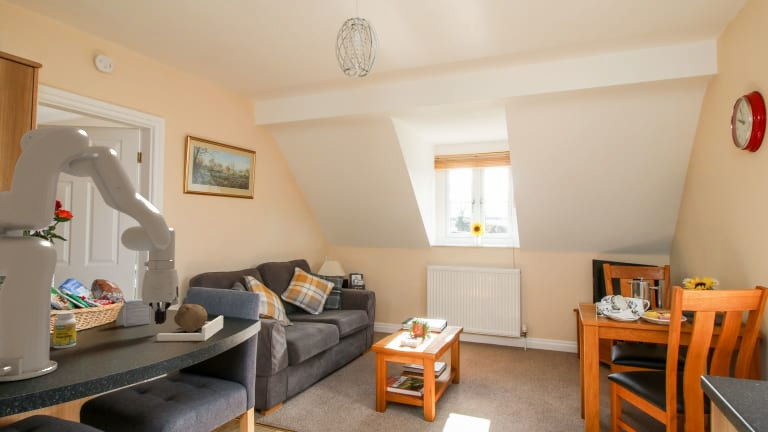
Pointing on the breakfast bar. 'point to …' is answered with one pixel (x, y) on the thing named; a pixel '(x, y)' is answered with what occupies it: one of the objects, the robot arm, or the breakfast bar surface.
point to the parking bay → (207, 332)
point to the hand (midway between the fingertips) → (160, 323)
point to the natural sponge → (190, 317)
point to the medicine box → (135, 313)
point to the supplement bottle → (64, 330)
